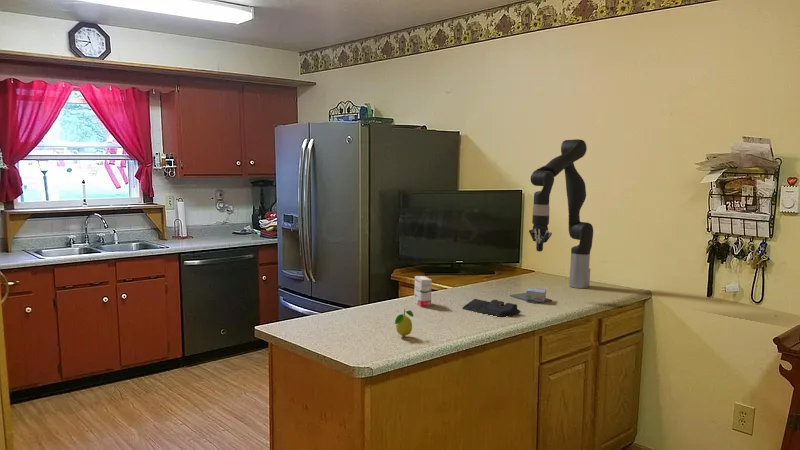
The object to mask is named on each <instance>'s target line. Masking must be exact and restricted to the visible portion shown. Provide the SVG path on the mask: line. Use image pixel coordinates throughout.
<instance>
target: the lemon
mask: <svg viewBox="0 0 800 450" xmlns="http://www.w3.org/2000/svg"><path fill="white" fill-rule="evenodd" d="M403 311H404V313H401V314H398V315H397V316H396V318H395V321H394V324H395V325H396V332H397V333H398V334H399V335H401V336H402V338H404V337H406V336H408V335H410V334H411V333H412V330H413V324H412V320H411V319H410V317H414V313H413V312H412V310H407V311H406V309H403ZM406 314H407V315H408V316H407V315H406Z"/></svg>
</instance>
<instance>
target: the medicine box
mask: <svg viewBox="0 0 800 450" xmlns="http://www.w3.org/2000/svg"><path fill="white" fill-rule="evenodd" d="M525 291H526V292H525V293H526V300H527V301H537V302H542V303H545V302H544V301H545V299H546V298H547V288H538V287H537V288H536V287H528V289H527V290H525ZM527 301H526V302H527Z"/></svg>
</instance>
